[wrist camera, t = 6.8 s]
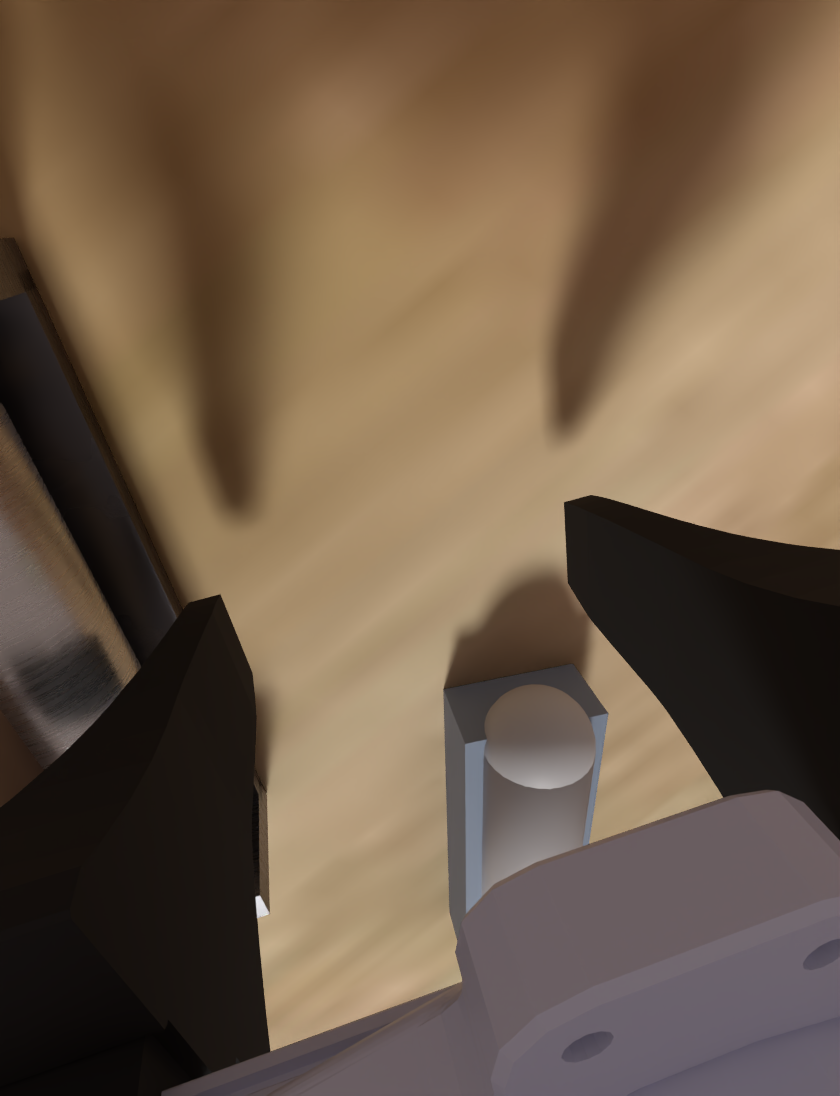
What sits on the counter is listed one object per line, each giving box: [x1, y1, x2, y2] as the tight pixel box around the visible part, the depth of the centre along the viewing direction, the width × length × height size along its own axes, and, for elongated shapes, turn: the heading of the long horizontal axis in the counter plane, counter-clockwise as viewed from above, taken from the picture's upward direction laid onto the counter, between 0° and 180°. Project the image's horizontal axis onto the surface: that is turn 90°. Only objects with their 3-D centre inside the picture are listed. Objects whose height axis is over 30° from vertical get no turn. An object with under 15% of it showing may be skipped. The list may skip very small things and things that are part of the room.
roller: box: [443, 664, 608, 941], centre depth 19 cm, size 13×4×4 cm, turn 2°
